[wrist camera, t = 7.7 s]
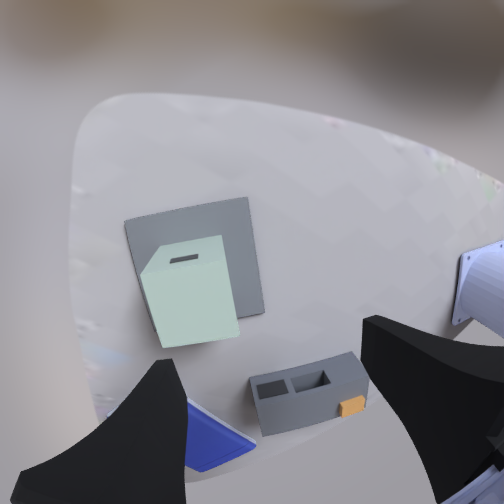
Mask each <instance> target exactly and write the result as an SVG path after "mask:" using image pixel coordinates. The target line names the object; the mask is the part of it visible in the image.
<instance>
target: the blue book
mask: <svg viewBox="0 0 504 504" xmlns="http://www.w3.org/2000/svg"><path fill="white" fill-rule="evenodd" d="M187 402H188V430H187V442H186V454H185V465H186V466H188V467H190V468H192V469H194V470H196V471H198V472H204V471H207V470H209V469H212V468H214V467H217V466H219V465H221V464H223V463H225V462H228V461H230V460H232V459H234V458H236V457H239V456H241V455H243V454H245V453H247V452H249V451H251V450H253V449H254V448H255V447H256V442H255V440H254V439H252V438H250V437H248V436H247V435H245V434H243V433H242V432H240V431H238V430H237V429H235V428H233V427H232V426H230V425H229V424H227V423H225V422H224V421H222V420H221V419H219V418H217V417H216V416H214V415H213V414H211V413H210V412H208V411H207V410H205V409H204V408H202V407H201V406H199V405H198V404H196V403H195V402H194V401H192V400H191V399H189V398H188V397H187ZM118 407H119V406H118ZM118 407H116V408H115V409H113V410H112V411H110V412H109V413H108V415H107V418H108V417H109V416H110V415H111V414H112V413H113V412H114V411H115V410H116V409H117V408H118Z"/></svg>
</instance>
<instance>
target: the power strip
mask: <svg viewBox="0 0 504 504" xmlns="http://www.w3.org/2000/svg"><path fill="white" fill-rule="evenodd" d="M249 379H250V383H251V388H252V392H253V397H254V401H255V406H256V410H257V415H258V419H259V423H260V428H261V432H262V436H263V437H264V436H269V435H274V434H279V433H283V432H287V431H291V430H295V429H299V428H303V427H307V426H310V425H314V424H317V423H321V422H324V421H327V420H330V419H333V418H337V417H340V416H341V418H343V417H346V416H349V415H352V414H354V413H357V412H360V411H363V410H364V408H365V406H366V400H367V393H368V386H369V379H370V377H369V375H368V374H367V372H366V370H365V368H364V367H363V365H362V364H361V363H360V361H359V360H358V359H357V357H356V356H355V355H354V354H353V352H349V353H345V354H342V355H339V356H336V357H332V358H329V359H325V360H322V361H318V362H314V363H311V364H307V365H303V366H299V367H295V368H291V369H287V370H282V371H278V372H274V373H269V374H264V375H260V376H255V377H250V378H249Z"/></svg>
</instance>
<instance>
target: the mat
mask: <svg viewBox="0 0 504 504" xmlns="http://www.w3.org/2000/svg"><path fill="white" fill-rule="evenodd" d="M124 223H125V228H126V232H127V236H128V241H129V245H130V249H131V253H132V257H133V261H134V265H135V268H136V272H137V276H138V279H139V283H140V286H141V290H142V293H143V296H144V300H145V303H146V306H147V309H148V313H149V316H150V319H151V322H152V325H153V328H154V331H157V330H156V327H155V324H154V321H153V318H152V314H151V311H150V308H149V305H148V301H147V298H146V294H145V291H144V288H143V284H142V280H141V277H140V274H141V273H142V271H143V270H144V268H145V267H146V265H147V264H148V263H149V261H150V260H151V258H152V257H153V255H154V254H155V252H156V251H157V250H158V248H159V247H160V246H163V245H169V244H174V243H179V242H185V241H190V240H196V239H201V238H207V237H212V236H218V235H222V240H223V246H224V251H225V257H226V262H227V268H228V274H229V279H230V285H231V290H232V295H233V301H234V306H235V311H236V316H237V318H239V317H245V316H250V315H255V314H260V313H265V309H264V302H263V295H262V288H261V282H260V275H259V268H258V262H257V255H256V249H255V242H254V235H253V229H252V222H251V215H250V209H249V202H248V197H243V198H237V199H231V200H225V201H219V202H214V203H208V204H203V205H197V206H192V207H187V208H182V209H177V210H172V211H167V212H162V213H157V214H152V215H148V216H143V217H138V218H134V219H130V220H126V221H124Z"/></svg>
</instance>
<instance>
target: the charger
mask: <svg viewBox="0 0 504 504" xmlns="http://www.w3.org/2000/svg"><path fill="white" fill-rule="evenodd" d="M140 277H141V280H142V284H143V288H144V291H145V294H146V298H147V301H148V305H149V308H150V311H151V314H152V318H153V321H154V324H155V327H156V330H157V333H158V336H159V339H160V342H161V344H162V347H163V348H168V347H175V346H183V345H190V344H196V343H203V342H209V341H215V340H221V339H227V338H233V337H238V336H240V332H239V327H238V322H237V316H236V311H235V306H234V301H233V295H232V290H231V285H230V279H229V274H228V268H227V262H226V257H225V251H224V246H223V240H222V235H218V236H212V237H207V238H201V239H196V240H190V241H185V242H179V243H174V244H169V245H163V246H160V247H159V248H158V250H157V251H156V252H155V254H154V255H153V257H152V258H151V260H150V261H149V263H148V264H147V265H146V267H145V268H144V270H143V271H142V273H141V274H140Z"/></svg>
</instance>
